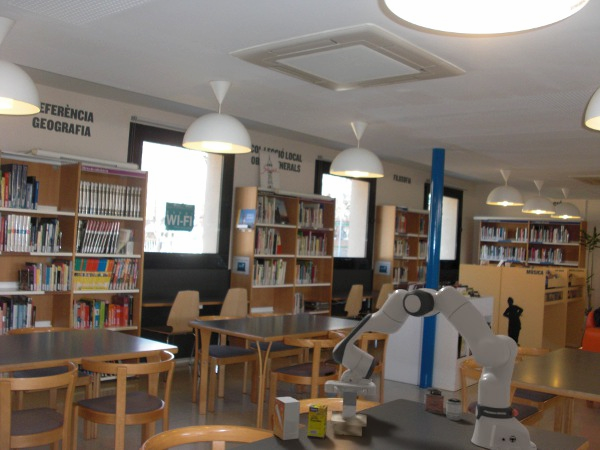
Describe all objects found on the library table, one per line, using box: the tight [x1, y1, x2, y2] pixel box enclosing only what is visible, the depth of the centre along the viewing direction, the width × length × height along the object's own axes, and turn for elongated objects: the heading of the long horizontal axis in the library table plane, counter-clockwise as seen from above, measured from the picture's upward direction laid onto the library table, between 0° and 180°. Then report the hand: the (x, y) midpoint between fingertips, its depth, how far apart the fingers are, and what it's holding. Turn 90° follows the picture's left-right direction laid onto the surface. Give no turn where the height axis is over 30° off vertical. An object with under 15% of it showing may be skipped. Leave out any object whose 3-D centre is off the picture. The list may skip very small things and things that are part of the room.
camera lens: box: [445, 398, 463, 421], centre depth 269 cm, size 6×6×8 cm
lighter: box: [424, 387, 445, 415], centre depth 278 cm, size 8×3×10 cm, turn 58°
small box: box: [272, 396, 301, 441], centre depth 230 cm, size 8×6×13 cm
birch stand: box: [330, 411, 368, 437], centre depth 241 cm, size 13×13×5 cm
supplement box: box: [307, 403, 329, 440], centre depth 232 cm, size 6×6×11 cm
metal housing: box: [341, 389, 358, 420], centre depth 241 cm, size 5×5×10 cm
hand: (350, 392), depth 248 cm, fingers open, 8 cm apart
